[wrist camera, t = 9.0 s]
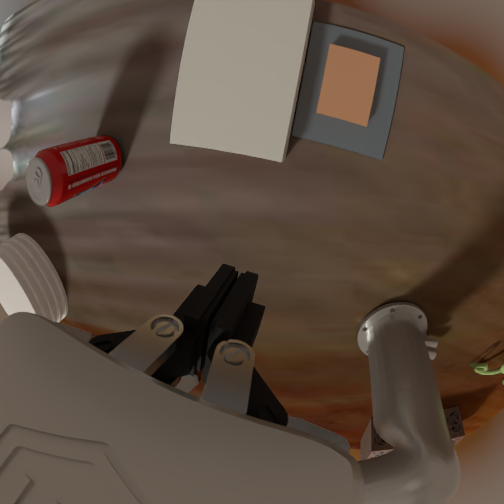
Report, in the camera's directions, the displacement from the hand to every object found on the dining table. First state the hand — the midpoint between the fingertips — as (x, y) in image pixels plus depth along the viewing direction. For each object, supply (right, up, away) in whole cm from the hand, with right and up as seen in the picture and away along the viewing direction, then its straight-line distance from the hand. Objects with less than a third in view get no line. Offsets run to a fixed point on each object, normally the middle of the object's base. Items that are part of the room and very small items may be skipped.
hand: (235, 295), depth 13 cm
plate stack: (-60, -5, +47) cm, 77 cm away
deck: (0, +25, +16) cm, 30 cm away
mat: (+12, +22, +14) cm, 29 cm away
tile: (+12, +21, +12) cm, 27 cm away
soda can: (-23, +17, +26) cm, 38 cm away
